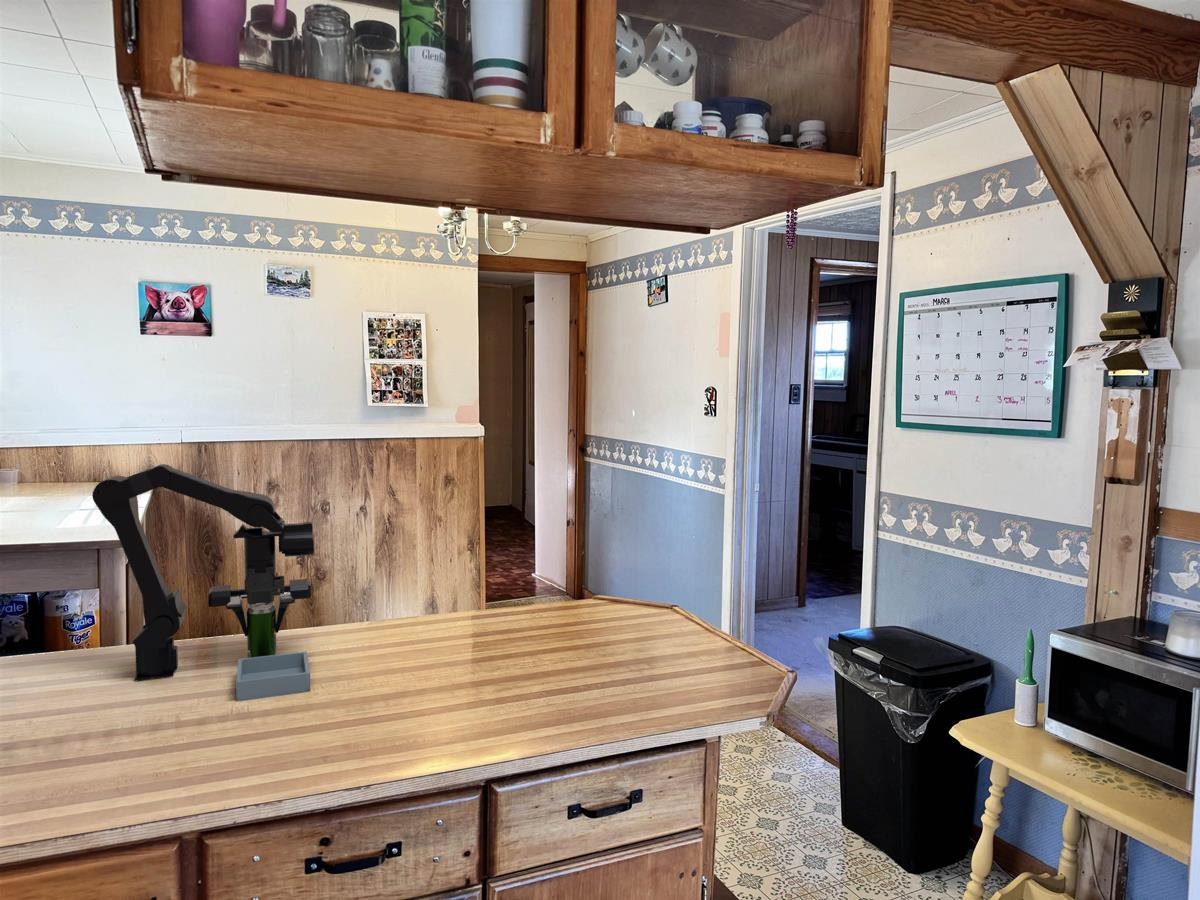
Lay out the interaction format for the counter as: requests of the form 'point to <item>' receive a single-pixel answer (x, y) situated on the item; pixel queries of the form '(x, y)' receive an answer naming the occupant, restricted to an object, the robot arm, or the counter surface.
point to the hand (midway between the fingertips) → (261, 633)
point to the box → (272, 676)
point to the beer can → (261, 630)
